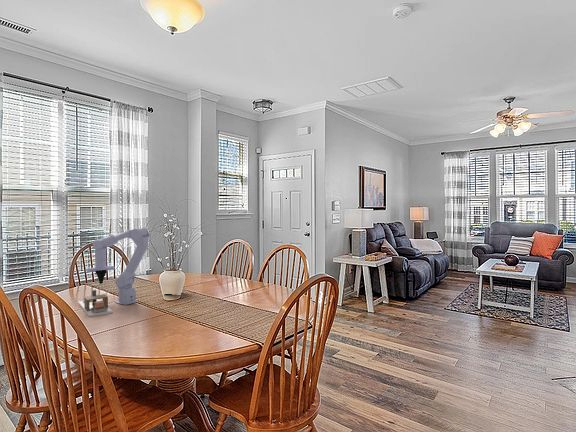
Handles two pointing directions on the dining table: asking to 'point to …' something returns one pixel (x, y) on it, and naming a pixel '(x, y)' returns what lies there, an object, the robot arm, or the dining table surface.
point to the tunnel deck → (88, 302)
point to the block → (98, 305)
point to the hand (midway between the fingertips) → (100, 283)
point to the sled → (93, 304)
